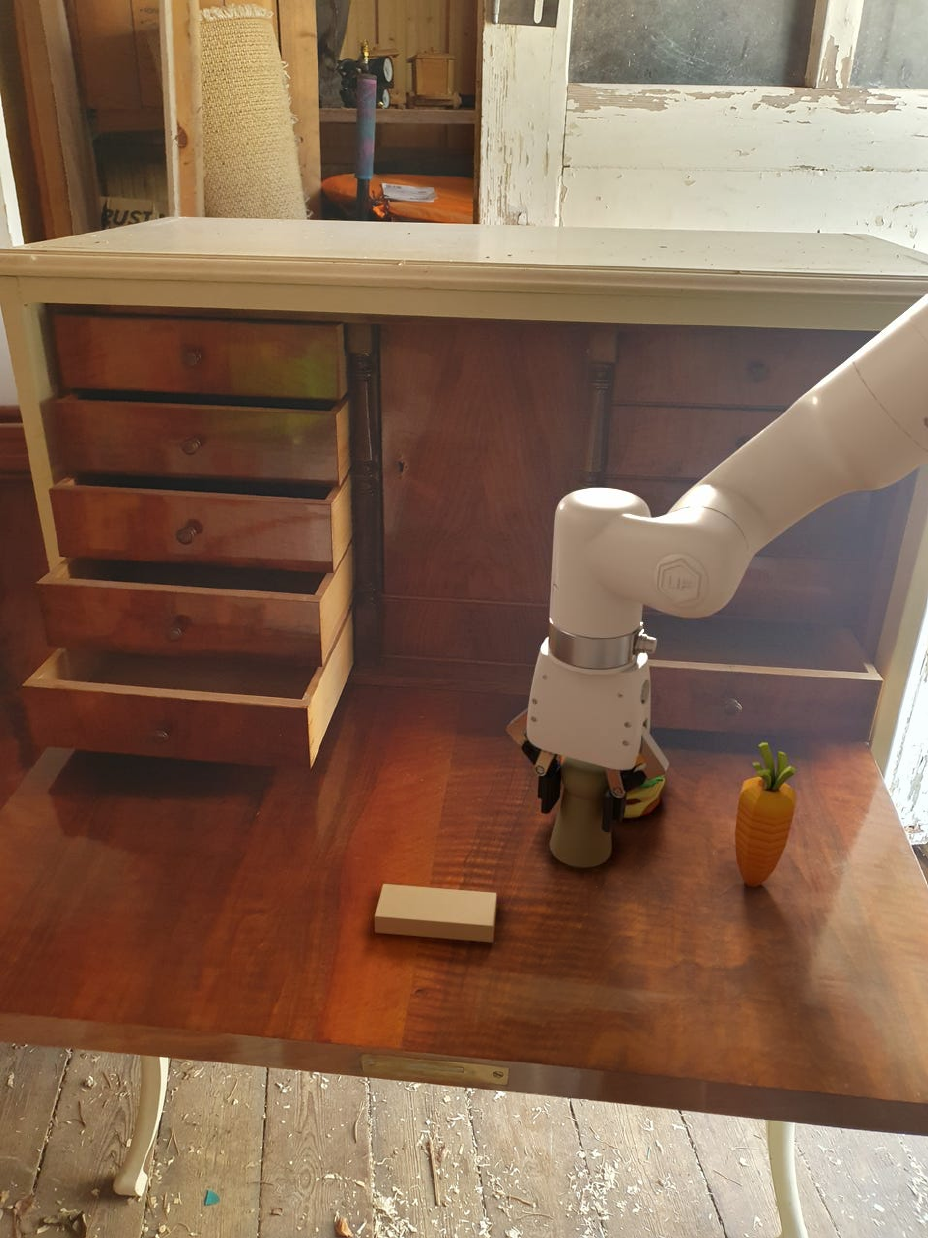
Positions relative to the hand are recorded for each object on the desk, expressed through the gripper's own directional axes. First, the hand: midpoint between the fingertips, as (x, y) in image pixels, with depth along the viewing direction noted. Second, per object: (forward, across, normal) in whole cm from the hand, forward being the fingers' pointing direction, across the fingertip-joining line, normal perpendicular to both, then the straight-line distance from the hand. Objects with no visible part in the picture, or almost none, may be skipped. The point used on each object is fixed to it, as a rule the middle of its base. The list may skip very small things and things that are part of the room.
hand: (580, 812), depth 88 cm
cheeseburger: (+6, 0, -11) cm, 13 cm away
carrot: (+6, -15, -4) cm, 17 cm away
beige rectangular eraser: (+6, +8, +13) cm, 16 cm away
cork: (+6, 0, -2) cm, 6 cm away
